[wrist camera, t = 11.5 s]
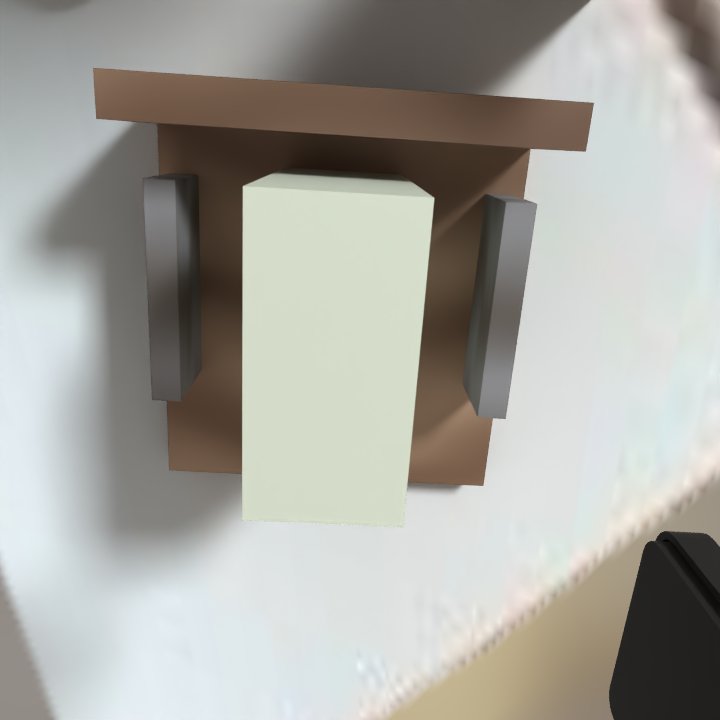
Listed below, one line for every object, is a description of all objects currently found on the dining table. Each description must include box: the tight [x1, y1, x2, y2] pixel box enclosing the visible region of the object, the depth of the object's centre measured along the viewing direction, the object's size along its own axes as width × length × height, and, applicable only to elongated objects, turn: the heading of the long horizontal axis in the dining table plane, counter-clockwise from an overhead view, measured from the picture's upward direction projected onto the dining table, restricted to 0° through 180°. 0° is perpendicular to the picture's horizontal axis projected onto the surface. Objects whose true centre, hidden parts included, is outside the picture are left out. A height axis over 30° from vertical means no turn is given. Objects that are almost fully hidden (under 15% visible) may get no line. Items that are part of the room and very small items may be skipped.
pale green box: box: [242, 167, 434, 527], centre depth 24 cm, size 10×5×12 cm, turn 177°
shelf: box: [93, 68, 594, 486], centre depth 28 cm, size 18×16×8 cm
